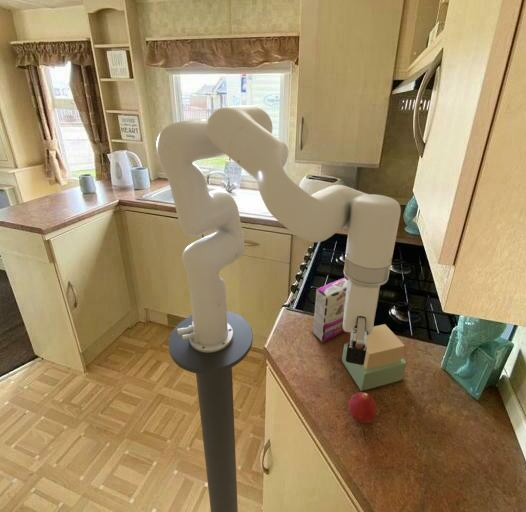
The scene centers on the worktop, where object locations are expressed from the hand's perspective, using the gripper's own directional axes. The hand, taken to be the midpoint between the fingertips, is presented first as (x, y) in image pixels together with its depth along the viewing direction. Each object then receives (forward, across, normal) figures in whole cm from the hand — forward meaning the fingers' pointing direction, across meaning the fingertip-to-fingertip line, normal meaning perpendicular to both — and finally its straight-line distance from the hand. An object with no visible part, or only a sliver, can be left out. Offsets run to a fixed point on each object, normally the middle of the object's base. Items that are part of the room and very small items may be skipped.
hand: (354, 343), depth 61 cm
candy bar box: (+23, -28, -5) cm, 36 cm away
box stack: (+23, -16, +6) cm, 29 cm away
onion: (+23, -2, +4) cm, 23 cm away
